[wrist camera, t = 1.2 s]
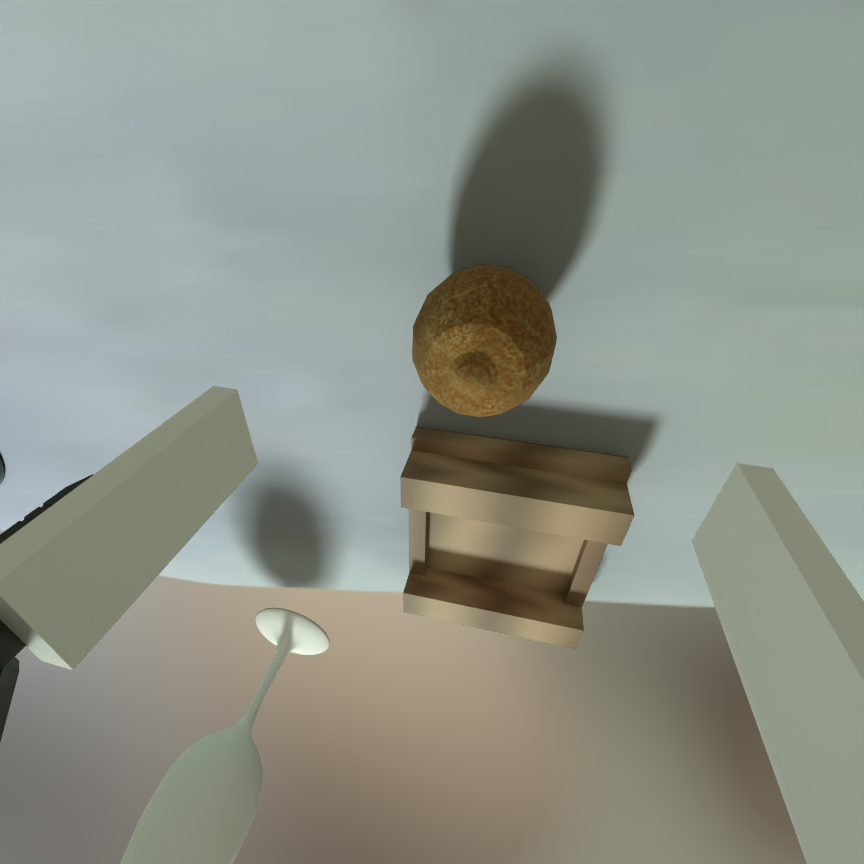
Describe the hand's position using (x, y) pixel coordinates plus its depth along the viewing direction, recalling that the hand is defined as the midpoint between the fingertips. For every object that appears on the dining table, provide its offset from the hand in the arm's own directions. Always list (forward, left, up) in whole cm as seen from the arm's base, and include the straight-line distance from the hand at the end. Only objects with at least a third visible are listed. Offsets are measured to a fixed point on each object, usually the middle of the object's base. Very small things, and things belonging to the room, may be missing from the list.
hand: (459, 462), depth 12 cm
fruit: (0, 0, -13) cm, 13 cm away
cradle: (+2, -16, -13) cm, 20 cm away
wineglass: (-18, -38, -13) cm, 44 cm away
